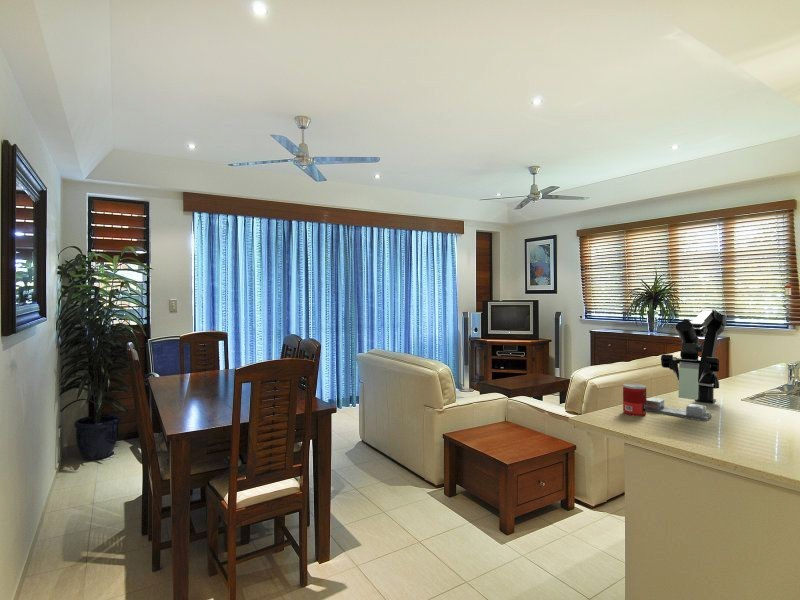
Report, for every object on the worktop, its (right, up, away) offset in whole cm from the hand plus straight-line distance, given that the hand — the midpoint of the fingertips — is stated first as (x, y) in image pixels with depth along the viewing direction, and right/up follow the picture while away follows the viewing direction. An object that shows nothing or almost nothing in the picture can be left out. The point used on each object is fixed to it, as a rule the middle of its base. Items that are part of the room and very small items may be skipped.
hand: (688, 380), depth 167 cm
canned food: (-18, -14, +5) cm, 23 cm away
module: (+1, -7, +1) cm, 7 cm away
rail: (-2, -13, +5) cm, 14 cm away
